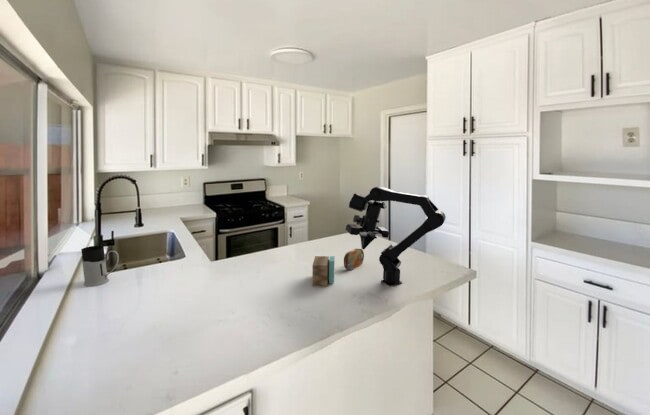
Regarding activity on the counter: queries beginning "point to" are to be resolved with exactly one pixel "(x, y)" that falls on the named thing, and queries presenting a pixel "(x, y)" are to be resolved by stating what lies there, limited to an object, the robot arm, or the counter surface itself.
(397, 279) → the robot arm
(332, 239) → the counter surface
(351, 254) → the tin
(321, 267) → the block
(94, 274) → the grey black mug
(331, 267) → the teal flanged block
